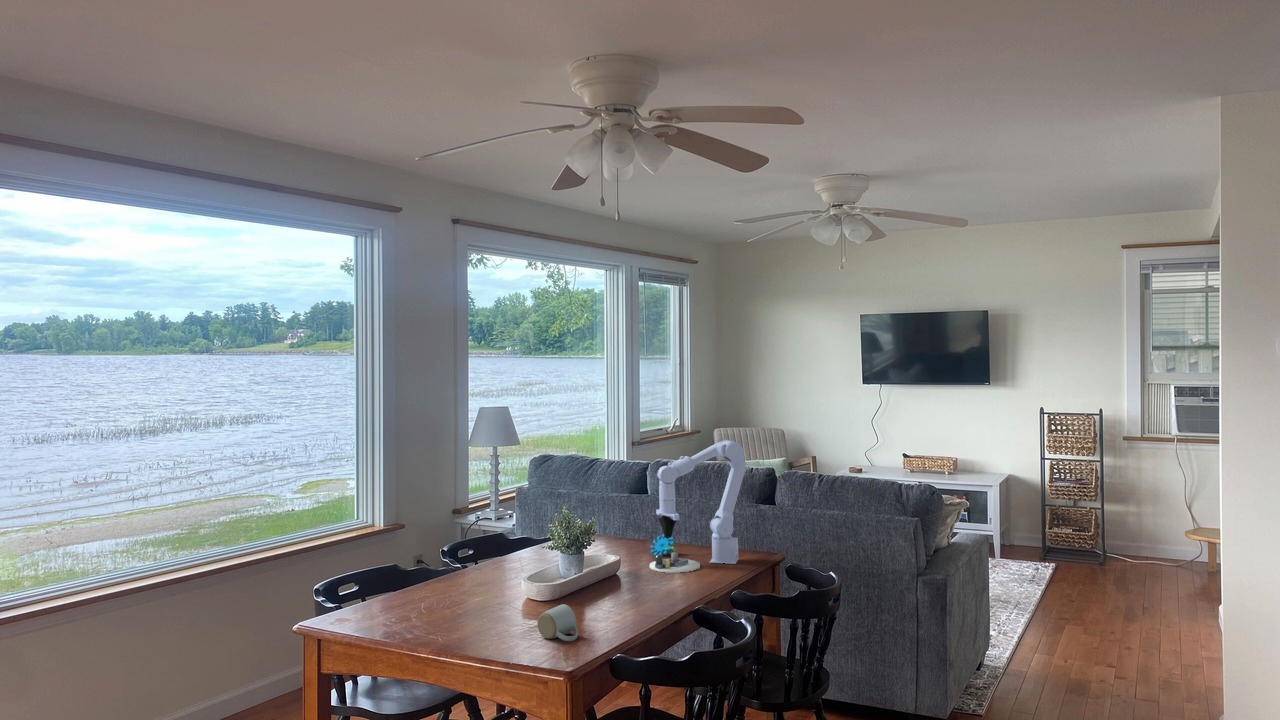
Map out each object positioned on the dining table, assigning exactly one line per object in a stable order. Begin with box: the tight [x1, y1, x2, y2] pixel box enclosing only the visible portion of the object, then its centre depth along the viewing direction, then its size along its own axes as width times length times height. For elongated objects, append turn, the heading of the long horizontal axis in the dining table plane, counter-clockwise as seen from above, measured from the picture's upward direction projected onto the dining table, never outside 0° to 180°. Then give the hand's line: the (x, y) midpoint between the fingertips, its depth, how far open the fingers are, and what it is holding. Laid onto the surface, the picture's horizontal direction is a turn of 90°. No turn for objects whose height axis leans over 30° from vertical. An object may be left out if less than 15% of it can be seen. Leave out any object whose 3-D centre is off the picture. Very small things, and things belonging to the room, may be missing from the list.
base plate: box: [649, 551, 701, 574], centre depth 310 cm, size 18×18×5 cm
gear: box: [650, 533, 676, 557], centre depth 331 cm, size 11×6×10 cm
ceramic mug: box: [537, 603, 579, 642], centre depth 232 cm, size 11×8×8 cm
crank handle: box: [655, 554, 689, 569], centre depth 308 cm, size 13×7×4 cm, turn 135°
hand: (668, 537), depth 314 cm, fingers closed
